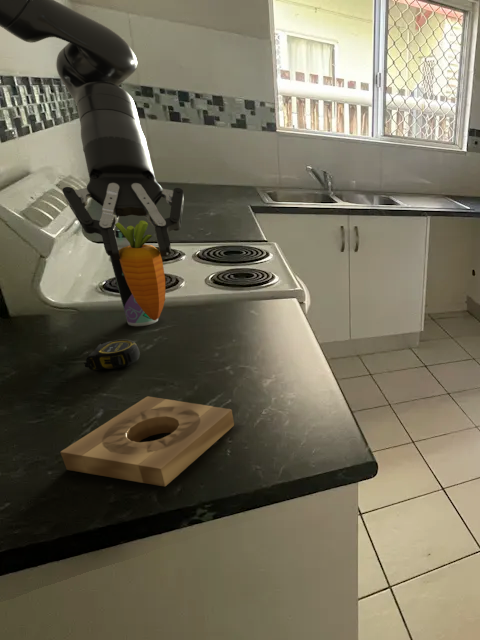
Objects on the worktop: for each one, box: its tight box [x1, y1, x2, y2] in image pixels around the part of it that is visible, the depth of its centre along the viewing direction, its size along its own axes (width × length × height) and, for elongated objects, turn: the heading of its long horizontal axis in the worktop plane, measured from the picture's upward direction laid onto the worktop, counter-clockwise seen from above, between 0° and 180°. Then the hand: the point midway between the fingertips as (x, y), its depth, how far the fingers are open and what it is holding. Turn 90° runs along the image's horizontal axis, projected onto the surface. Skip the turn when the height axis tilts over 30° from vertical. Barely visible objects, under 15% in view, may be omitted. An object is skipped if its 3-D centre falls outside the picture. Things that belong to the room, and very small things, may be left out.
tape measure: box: [83, 339, 141, 371], centre depth 86 cm, size 7×7×4 cm
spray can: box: [109, 229, 159, 327], centre depth 99 cm, size 6×6×20 cm
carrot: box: [115, 220, 166, 320], centre depth 68 cm, size 5×5×15 cm
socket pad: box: [60, 395, 235, 487], centre depth 68 cm, size 14×14×3 cm
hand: (140, 254), depth 66 cm, fingers closed on carrot, 4 cm apart
